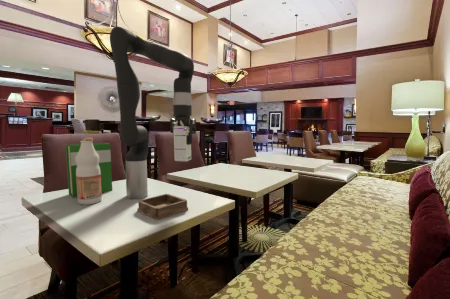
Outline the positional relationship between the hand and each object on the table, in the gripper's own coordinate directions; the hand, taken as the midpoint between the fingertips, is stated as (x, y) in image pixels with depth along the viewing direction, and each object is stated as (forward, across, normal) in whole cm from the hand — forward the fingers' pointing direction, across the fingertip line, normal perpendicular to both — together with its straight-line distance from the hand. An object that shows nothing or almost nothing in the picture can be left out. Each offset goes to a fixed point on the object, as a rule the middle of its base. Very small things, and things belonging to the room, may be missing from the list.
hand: (182, 143), depth 105 cm
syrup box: (+7, 0, 0) cm, 7 cm away
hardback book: (+26, -47, -20) cm, 57 cm away
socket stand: (+26, +1, -11) cm, 28 cm away
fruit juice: (+26, -32, -26) cm, 49 cm away
